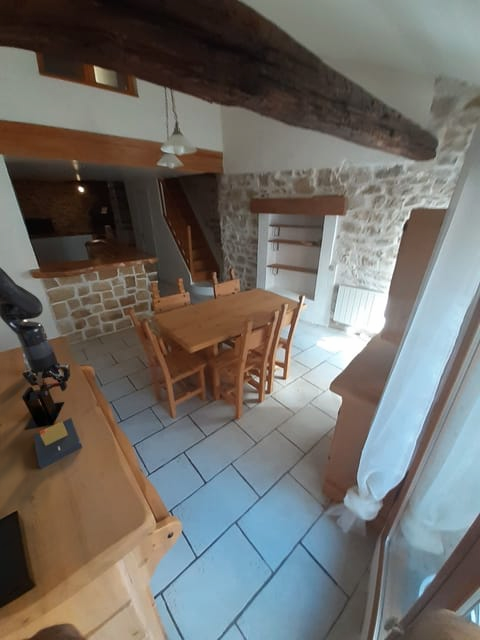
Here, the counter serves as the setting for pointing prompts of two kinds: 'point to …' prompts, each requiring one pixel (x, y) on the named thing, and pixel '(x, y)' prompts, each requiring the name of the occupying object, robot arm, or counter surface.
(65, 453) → the lock plate
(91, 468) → the counter surface
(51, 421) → the latch bracket
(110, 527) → the counter surface
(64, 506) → the counter surface
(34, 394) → the latch lever
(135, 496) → the counter surface
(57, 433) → the yellow flat block
